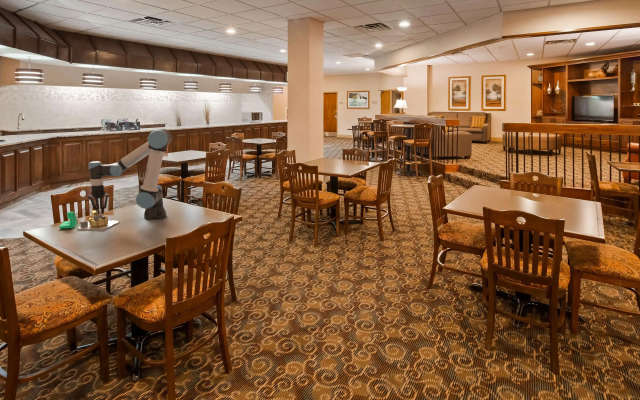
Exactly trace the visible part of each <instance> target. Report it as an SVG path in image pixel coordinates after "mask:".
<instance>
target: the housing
mask: <svg viewBox="0 0 640 400" xmlns="http://www.w3.org/2000/svg"><path fill="white" fill-rule="evenodd" d="M102 215H103V214H102ZM102 215H99V214H97V215H96V216H94V220H99V219H100V218H102V220H103V217H104V216H102ZM108 222H109V223H108V224H106V225H102V226H90V225H89V220H82V221H80V226H79V227H77V231H107V230H110V229H111V228H113V227H114V226H116V225H118V224H120V220H108Z"/></svg>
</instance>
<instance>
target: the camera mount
mask: <svg viewBox="0 0 640 400" xmlns="http://www.w3.org/2000/svg"><path fill="white" fill-rule="evenodd" d="M66 213H67V214H66V216H67V219H69V220H67V221H66V220H65V221H63V222H62V223H60V225H58V227H59V229H62V230H63V229H73V228H75V227H77V224H78V219H77V216H76V214H75V212H74V211H67V212H66Z"/></svg>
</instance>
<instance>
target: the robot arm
mask: <svg viewBox="0 0 640 400" xmlns="http://www.w3.org/2000/svg"><path fill="white" fill-rule="evenodd" d="M172 141H173V134H172V133H171V132H170V130H168V129H166V128H160V129H154V130H152V131H151V132H150V133H149V134H148V136H147V142H145V143H144V144H141V145H140V146H139V147H137V148H136V149H134V150H132V151H131V152H130V153H128V154H127V155H125V156H123V157H121V159H119V160H118V161H116V162H114V163H111V164H102V162H101V161H90V162H88V171H89V179H90V188H91V192H90V194H88V196H87V198H88V199H89V200H90V202H91V203H90V204H91V205H92V207H93V209H94V210H96V212H97V215H102V216H103V215H104V213H105V211H104V210H105V209H106V208H107V205H108V200H109V199H108V198H109V196H110V193H106V190H105V185H104V178H103V177H119V176H121V175H122V173H124V172H125V171H126V170H128V169H130V167H132V166H133V165H135V164H136V163H138V162H140V161H141V160H143V159H144V158H146V157H147V156H148V159H147V164H146V168H145V174H144V178H143V179H144V180H143V184H142V185H140V187H139V192H138V194H137V195H136V197H135V202H136V204H137V206H138V207H140V208H141V209H144V212H143V219H145V220H161V219H164V218H166V217H167V210H166V209H165V207H164V199H163V198H164V197H163V188H162V185H158V182H159V177H160V172H161V167H162V163H163V158H164V154H165V153H167V150H168V146H169V145H170V144H171V143H172ZM104 197H105V199H104V201H103V198H104ZM93 198H94V199H95V200H94V199H93ZM99 202H100V203H99ZM103 217H104V216H103Z"/></svg>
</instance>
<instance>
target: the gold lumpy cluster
mask: <svg viewBox="0 0 640 400" xmlns="http://www.w3.org/2000/svg"><path fill="white" fill-rule="evenodd" d="M96 215H98V213H97V210H92V211H91V216H92V217H90V218H88V223H89V225H90V226H102V225H106V224H108V223H109V222H108V221H109V218H108V215H104V216H103V220H102V218H100V219H99V220H94V216H96Z"/></svg>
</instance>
